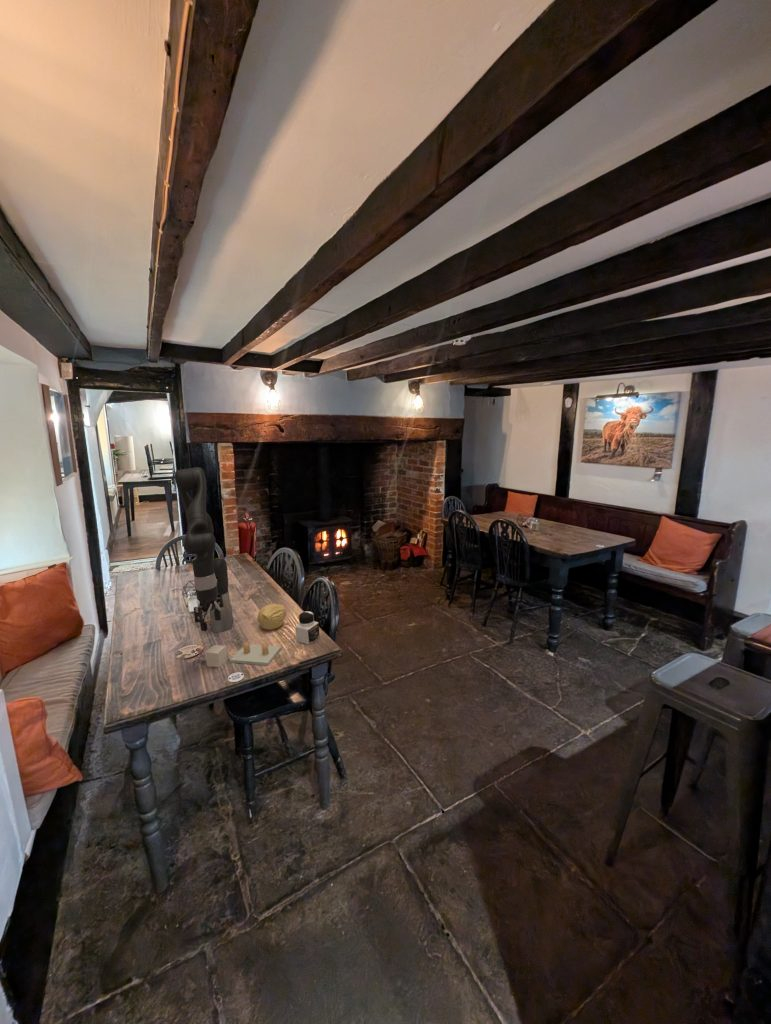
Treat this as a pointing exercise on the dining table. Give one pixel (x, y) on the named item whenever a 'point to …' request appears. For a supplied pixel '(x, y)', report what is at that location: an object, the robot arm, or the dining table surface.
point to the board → (256, 654)
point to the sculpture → (271, 616)
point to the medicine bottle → (307, 628)
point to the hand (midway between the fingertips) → (211, 625)
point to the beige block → (216, 656)
